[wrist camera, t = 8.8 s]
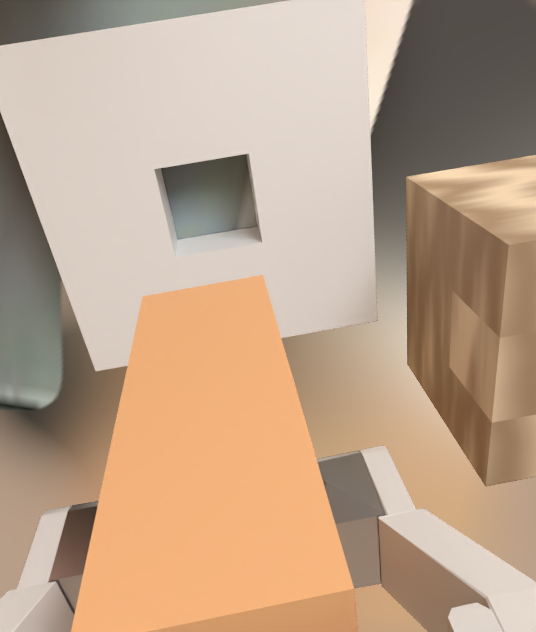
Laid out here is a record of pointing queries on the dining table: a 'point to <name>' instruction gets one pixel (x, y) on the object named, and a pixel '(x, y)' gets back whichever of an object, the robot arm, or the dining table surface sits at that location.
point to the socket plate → (201, 145)
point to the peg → (213, 482)
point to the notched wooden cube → (477, 308)
